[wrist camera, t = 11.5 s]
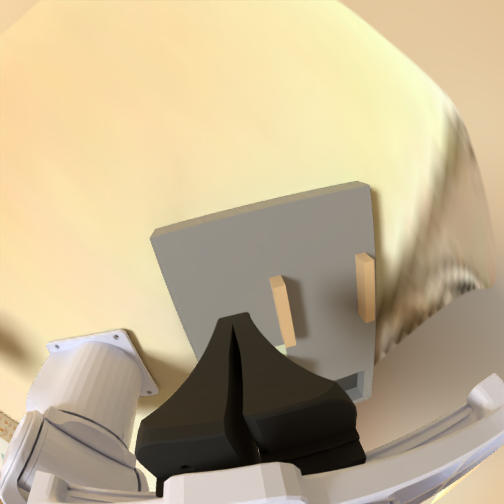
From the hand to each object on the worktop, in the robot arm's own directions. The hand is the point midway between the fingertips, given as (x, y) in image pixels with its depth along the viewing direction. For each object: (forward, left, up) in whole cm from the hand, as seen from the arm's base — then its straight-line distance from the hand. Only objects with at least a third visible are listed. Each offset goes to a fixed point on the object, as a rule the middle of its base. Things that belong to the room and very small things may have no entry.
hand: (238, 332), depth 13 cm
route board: (+3, -8, -9) cm, 13 cm away
